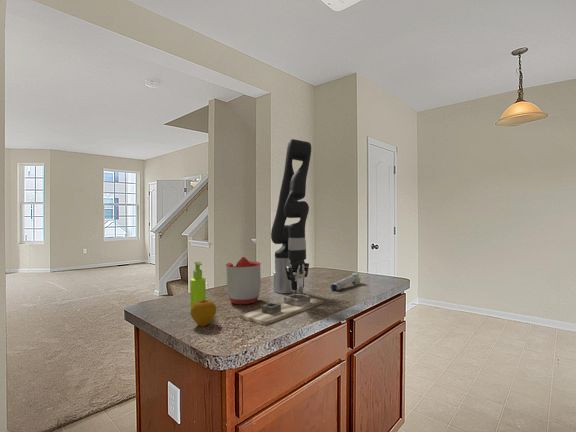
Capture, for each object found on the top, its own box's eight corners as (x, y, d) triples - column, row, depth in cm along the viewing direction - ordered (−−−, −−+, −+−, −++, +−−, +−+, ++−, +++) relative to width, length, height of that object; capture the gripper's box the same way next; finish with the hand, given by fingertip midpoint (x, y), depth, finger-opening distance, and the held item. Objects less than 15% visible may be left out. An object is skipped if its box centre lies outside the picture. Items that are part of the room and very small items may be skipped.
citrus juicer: (249, 294, 157) (248, 253, 157) (268, 302, 143) (267, 257, 143) (218, 300, 148) (218, 256, 148) (236, 308, 134) (235, 260, 134)
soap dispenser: (192, 315, 126) (192, 263, 126) (189, 310, 132) (188, 261, 132) (207, 313, 129) (207, 262, 129) (203, 308, 135) (203, 260, 135)
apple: (220, 326, 113) (220, 300, 113) (195, 331, 108) (194, 304, 108) (211, 319, 121) (211, 295, 121) (187, 323, 116) (187, 298, 116)
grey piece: (328, 283, 163) (353, 269, 182) (330, 296, 164) (354, 281, 183) (337, 284, 160) (361, 270, 179) (339, 297, 161) (362, 282, 180)
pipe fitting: (290, 293, 137) (290, 274, 137) (297, 291, 140) (297, 272, 140) (299, 294, 134) (298, 275, 134) (305, 292, 137) (305, 273, 137)
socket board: (240, 318, 122) (240, 307, 121) (299, 298, 149) (299, 290, 149) (265, 325, 113) (265, 314, 113) (323, 303, 141) (323, 294, 141)
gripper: (300, 246, 145) (301, 284, 145) (279, 249, 134) (280, 291, 134) (314, 247, 140) (314, 287, 140) (293, 250, 129) (294, 293, 129)
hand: (297, 288), depth 137 cm, fingers closed on pipe fitting, 4 cm apart
